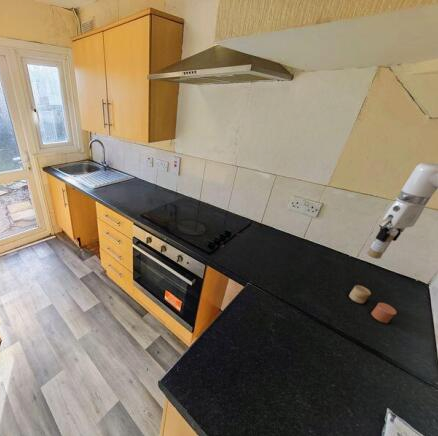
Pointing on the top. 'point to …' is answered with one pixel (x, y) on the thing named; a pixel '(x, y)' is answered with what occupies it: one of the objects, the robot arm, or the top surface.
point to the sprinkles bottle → (381, 245)
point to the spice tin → (359, 294)
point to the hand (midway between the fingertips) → (385, 239)
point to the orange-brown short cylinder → (383, 312)
